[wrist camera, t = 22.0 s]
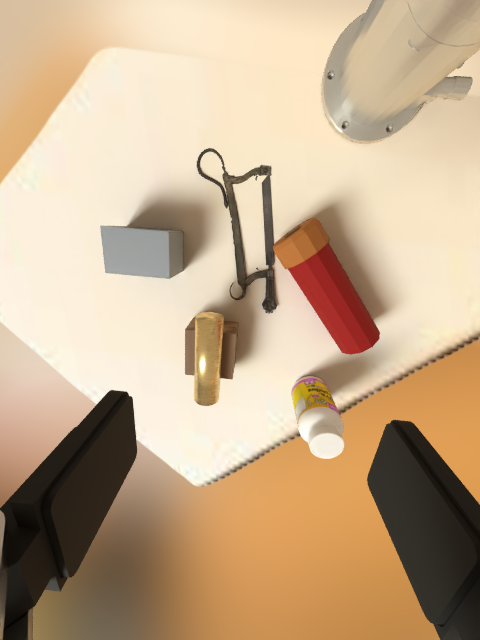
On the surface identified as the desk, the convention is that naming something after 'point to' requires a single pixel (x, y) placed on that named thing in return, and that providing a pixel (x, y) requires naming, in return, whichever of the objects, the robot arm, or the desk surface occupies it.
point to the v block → (227, 349)
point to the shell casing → (327, 286)
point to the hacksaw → (267, 209)
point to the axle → (208, 357)
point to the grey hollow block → (142, 251)
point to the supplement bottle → (318, 417)
